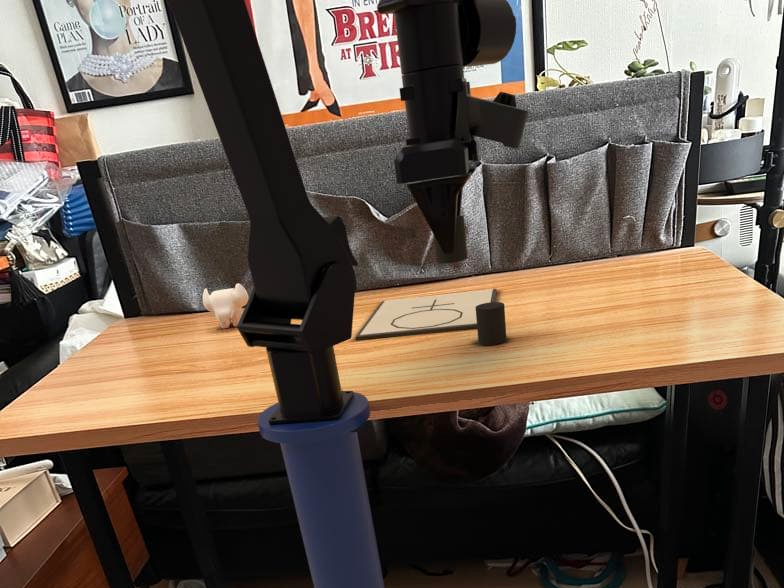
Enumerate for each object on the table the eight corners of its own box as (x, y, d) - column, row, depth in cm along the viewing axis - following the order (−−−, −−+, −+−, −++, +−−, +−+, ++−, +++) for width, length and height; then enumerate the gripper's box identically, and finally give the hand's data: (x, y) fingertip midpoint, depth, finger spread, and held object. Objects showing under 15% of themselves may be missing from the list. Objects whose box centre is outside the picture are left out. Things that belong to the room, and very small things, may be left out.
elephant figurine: (205, 336, 105) (193, 294, 102) (215, 323, 112) (204, 283, 109) (250, 329, 105) (240, 286, 102) (257, 316, 112) (248, 277, 109)
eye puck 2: (506, 343, 80) (503, 307, 78) (477, 346, 81) (474, 310, 79) (506, 336, 83) (504, 300, 81) (479, 338, 84) (476, 303, 82)
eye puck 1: (466, 261, 73) (462, 218, 71) (434, 265, 74) (430, 222, 72) (468, 255, 76) (464, 214, 74) (438, 259, 76) (433, 218, 74)
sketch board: (490, 327, 88) (490, 322, 87) (355, 340, 91) (354, 335, 91) (496, 291, 105) (496, 287, 104) (382, 303, 108) (382, 299, 108)
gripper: (518, 49, 57) (529, 257, 65) (522, 59, 72) (530, 226, 80) (381, 73, 59) (407, 271, 67) (413, 78, 75) (432, 238, 83)
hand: (450, 249), depth 74 cm, fingers closed on eye puck 1, 3 cm apart
